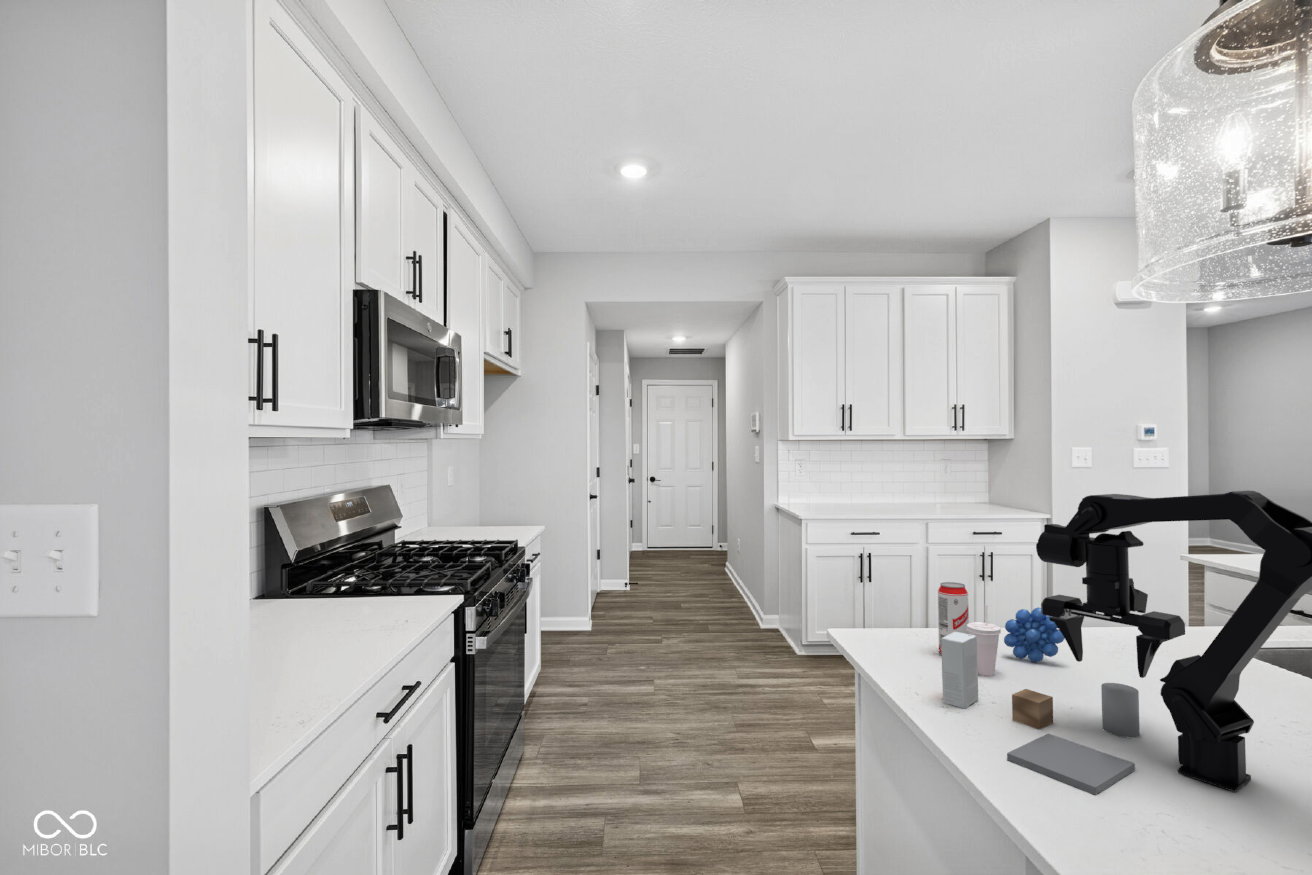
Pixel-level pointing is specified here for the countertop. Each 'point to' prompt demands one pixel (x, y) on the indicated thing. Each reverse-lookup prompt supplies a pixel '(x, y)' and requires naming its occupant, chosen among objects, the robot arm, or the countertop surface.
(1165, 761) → the countertop surface
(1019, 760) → the slate pad
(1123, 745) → the countertop surface
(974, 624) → the smoothie
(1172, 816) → the countertop surface
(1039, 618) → the grapes
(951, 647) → the skincare box
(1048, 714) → the walnut block
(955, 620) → the beer can
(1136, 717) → the grey cylinder
